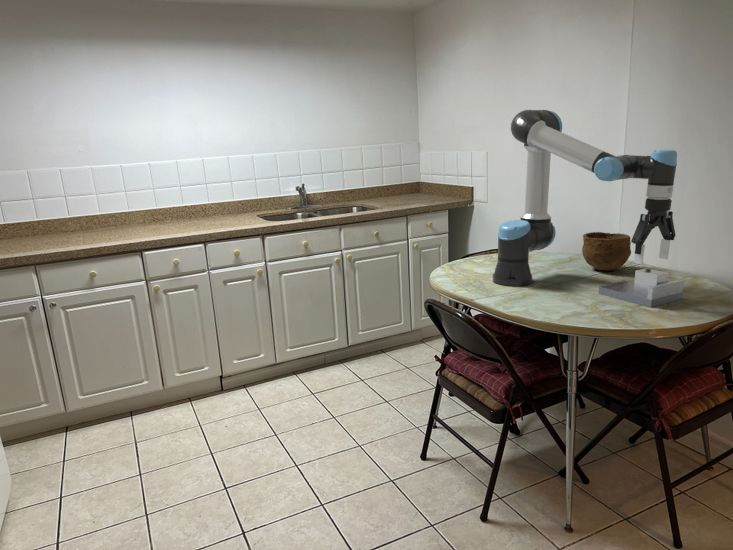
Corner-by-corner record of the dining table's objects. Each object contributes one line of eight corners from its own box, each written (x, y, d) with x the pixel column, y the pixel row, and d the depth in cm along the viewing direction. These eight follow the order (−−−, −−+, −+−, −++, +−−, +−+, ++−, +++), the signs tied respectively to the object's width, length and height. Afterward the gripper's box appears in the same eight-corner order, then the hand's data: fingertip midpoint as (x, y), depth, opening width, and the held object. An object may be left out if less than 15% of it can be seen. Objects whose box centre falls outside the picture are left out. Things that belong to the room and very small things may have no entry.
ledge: (650, 307, 177) (652, 288, 175) (598, 293, 194) (599, 275, 192) (682, 298, 185) (684, 280, 183) (629, 286, 202) (630, 269, 200)
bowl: (572, 266, 236) (574, 232, 232) (613, 264, 237) (616, 230, 234) (593, 276, 217) (596, 239, 214) (638, 274, 219) (641, 237, 215)
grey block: (655, 295, 181) (657, 273, 179) (633, 290, 188) (635, 268, 186) (666, 292, 184) (668, 271, 182) (644, 287, 190) (646, 266, 189)
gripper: (645, 202, 169) (637, 268, 175) (692, 196, 181) (683, 258, 186) (624, 199, 175) (617, 263, 181) (670, 194, 187) (663, 254, 193)
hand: (650, 261), depth 184 cm, fingers open, 13 cm apart
